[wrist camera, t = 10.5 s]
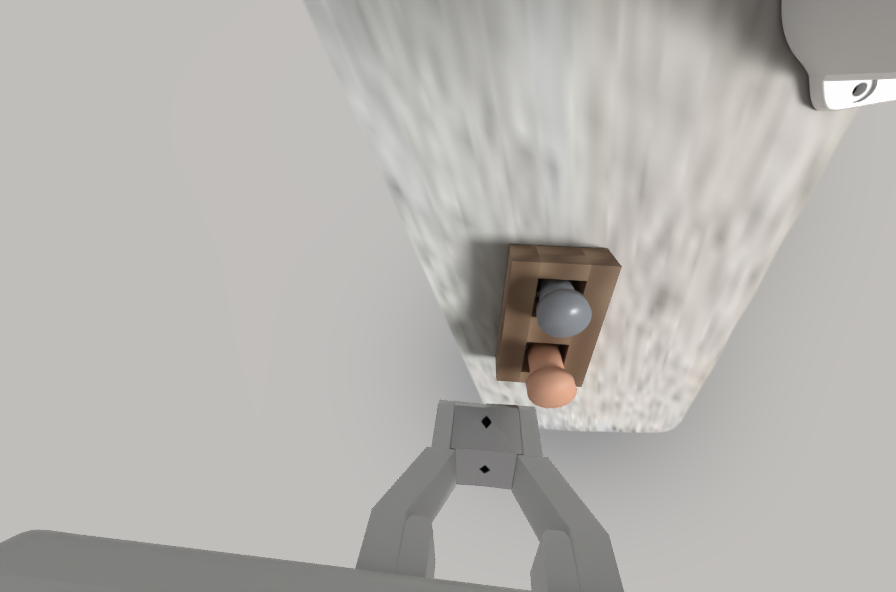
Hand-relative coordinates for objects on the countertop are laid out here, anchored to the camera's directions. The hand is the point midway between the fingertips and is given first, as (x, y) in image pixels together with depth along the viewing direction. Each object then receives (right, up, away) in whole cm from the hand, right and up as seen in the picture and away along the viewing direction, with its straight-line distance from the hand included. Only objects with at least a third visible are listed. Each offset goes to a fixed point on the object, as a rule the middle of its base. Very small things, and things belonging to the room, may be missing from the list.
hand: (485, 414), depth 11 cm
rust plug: (+10, -3, +28) cm, 30 cm away
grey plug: (+10, +5, +25) cm, 27 cm away
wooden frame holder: (+10, +2, +28) cm, 30 cm away
